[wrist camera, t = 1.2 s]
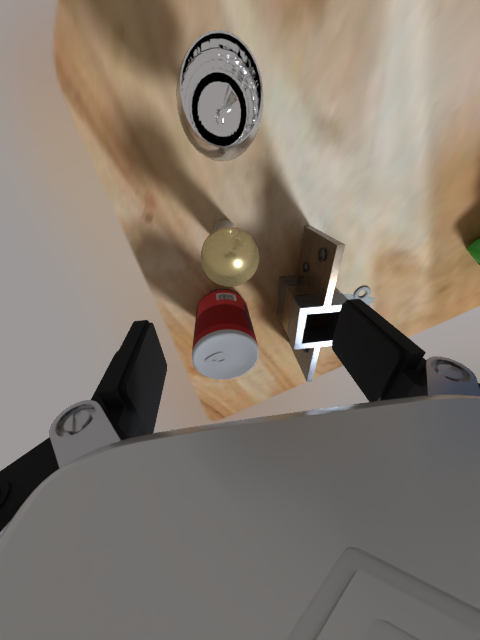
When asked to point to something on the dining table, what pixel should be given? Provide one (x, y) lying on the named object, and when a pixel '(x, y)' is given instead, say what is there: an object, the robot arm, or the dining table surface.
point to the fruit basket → (475, 250)
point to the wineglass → (219, 96)
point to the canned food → (223, 336)
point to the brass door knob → (229, 255)
